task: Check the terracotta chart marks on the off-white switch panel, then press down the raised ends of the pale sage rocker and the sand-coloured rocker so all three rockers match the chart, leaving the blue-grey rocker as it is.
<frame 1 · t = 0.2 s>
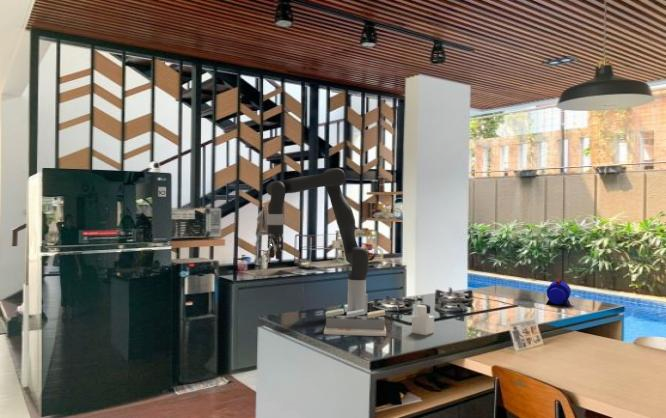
hand: (274, 258, 241), 29 cm above the table, tool pointing down, fingers open, 8 cm apart
switch panel: (355, 331, 221), on the table
sage rocker: (335, 313, 223), point 7 cm above the table, hinge at 12.0°
sand rocker: (376, 314, 222), point 7 cm above the table, hinge at 12.0°
medicine bottle: (422, 333, 221), on the table
alarm clock: (558, 305, 296), on the table
blue-grey rocker: (355, 314, 223), point 7 cm above the table, hinge at 12.0°
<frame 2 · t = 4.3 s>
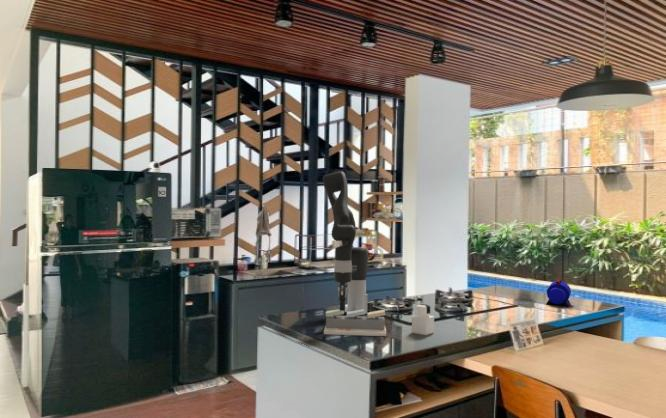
hand: (342, 310, 223), 9 cm above the table, tool pointing down, fingers closed
sage rocker: (335, 313, 223), point 7 cm above the table, hinge at 9.8°, touching gripper
everything else where it was.
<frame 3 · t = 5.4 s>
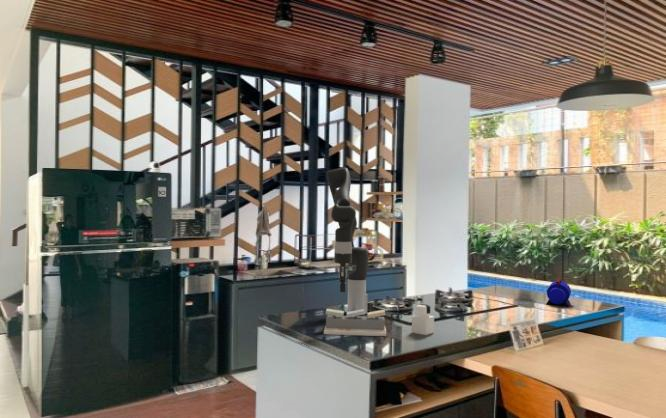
hand: (342, 291, 223), 17 cm above the table, tool pointing down, fingers closed
sage rocker: (334, 313, 223), point 7 cm above the table, hinge at -6.4°
everything else where it was.
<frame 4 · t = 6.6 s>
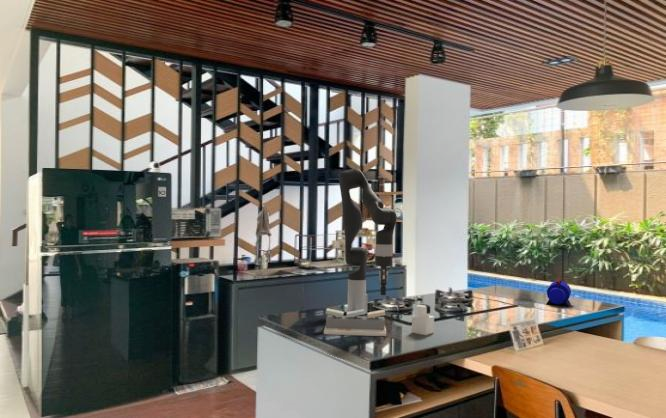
hand: (383, 294, 222), 16 cm above the table, tool pointing down, fingers closed
sage rocker: (334, 313, 223), point 7 cm above the table, hinge at -10.2°
everything else where it was.
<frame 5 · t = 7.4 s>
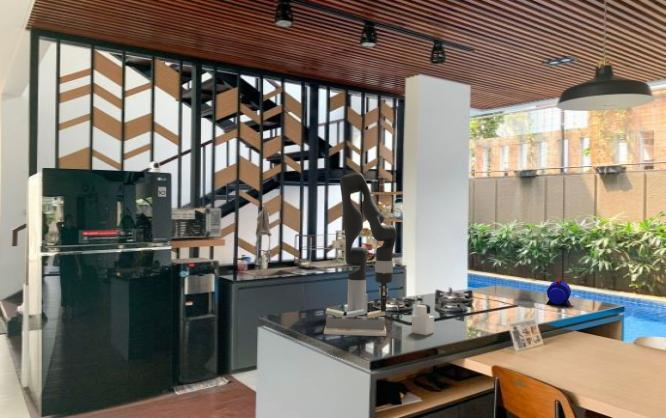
hand: (383, 311, 222), 9 cm above the table, tool pointing down, fingers closed
sage rocker: (334, 313, 223), point 7 cm above the table, hinge at -11.0°
sand rocker: (376, 314, 222), point 7 cm above the table, hinge at 11.9°, touching gripper
everything else where it was.
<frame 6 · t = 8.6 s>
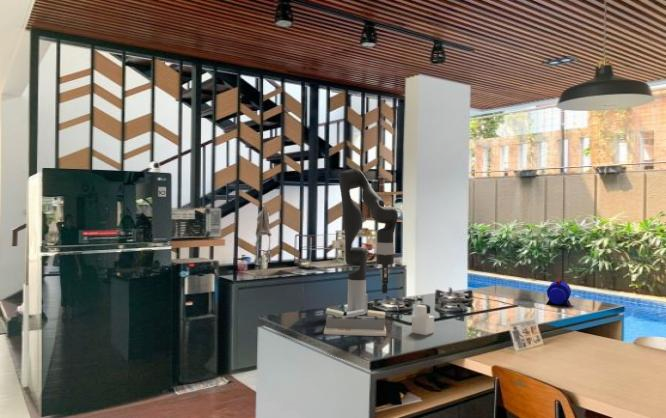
hand: (384, 292, 222), 17 cm above the table, tool pointing down, fingers closed
sage rocker: (334, 313, 223), point 7 cm above the table, hinge at -11.4°
sand rocker: (376, 314, 222), point 7 cm above the table, hinge at -5.9°
everything else where it was.
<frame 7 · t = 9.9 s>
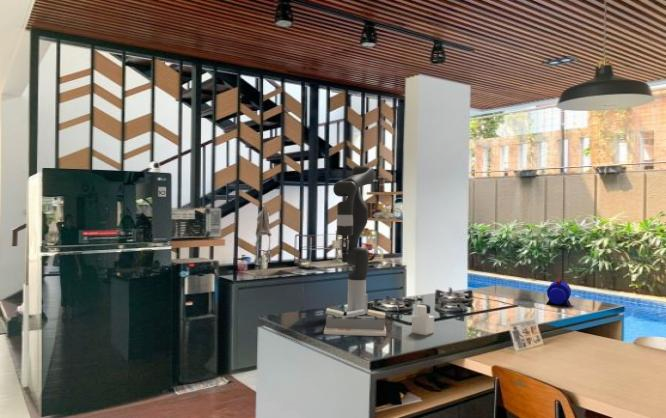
hand: (344, 262, 236), 28 cm above the table, tool pointing down, fingers closed
sand rocker: (376, 314, 222), point 7 cm above the table, hinge at -10.2°
everything else where it was.
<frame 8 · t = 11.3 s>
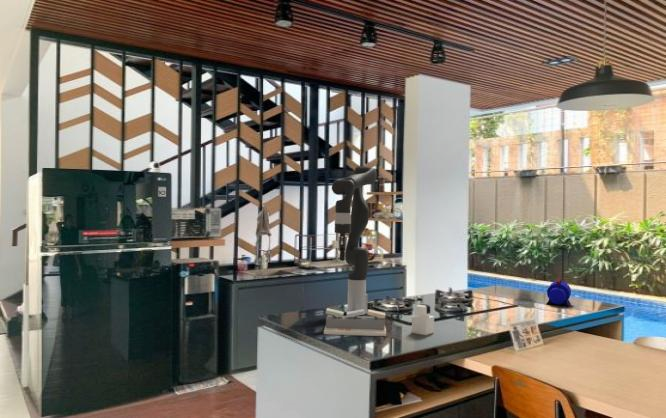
hand: (342, 260, 237), 29 cm above the table, tool pointing down, fingers closed
sand rocker: (376, 314, 222), point 7 cm above the table, hinge at -11.2°
everything else where it was.
at the end: sage rocker at -12° (first picture: +12°); sand rocker at -11° (first picture: +12°); blue-grey rocker at +12° (first picture: +12°) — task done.
